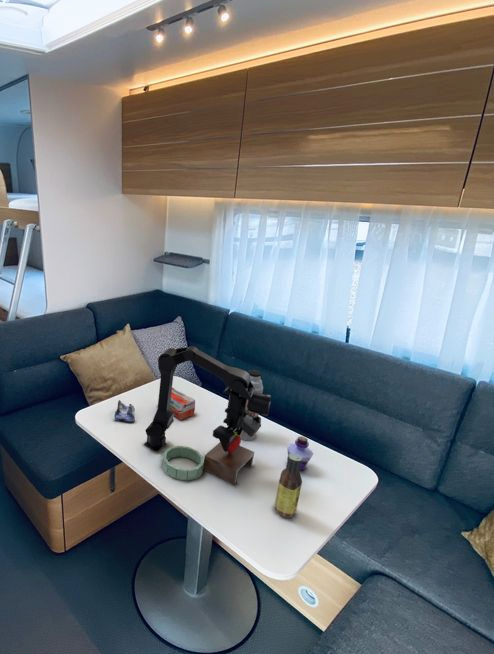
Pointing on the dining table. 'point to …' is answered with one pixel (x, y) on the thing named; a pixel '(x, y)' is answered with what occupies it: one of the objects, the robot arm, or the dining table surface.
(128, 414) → the snack package
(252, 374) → the thermos bottle
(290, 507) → the sauce bottle
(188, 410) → the medicine box
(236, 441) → the strawberry
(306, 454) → the potion bottle
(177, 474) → the holder
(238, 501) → the dining table surface
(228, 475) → the shelf
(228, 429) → the robot arm
